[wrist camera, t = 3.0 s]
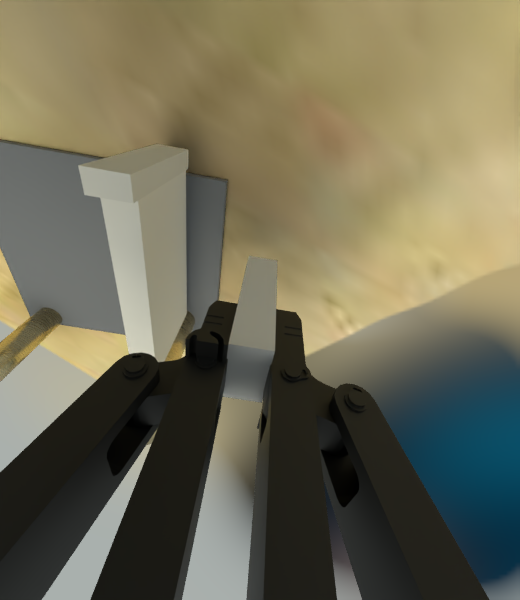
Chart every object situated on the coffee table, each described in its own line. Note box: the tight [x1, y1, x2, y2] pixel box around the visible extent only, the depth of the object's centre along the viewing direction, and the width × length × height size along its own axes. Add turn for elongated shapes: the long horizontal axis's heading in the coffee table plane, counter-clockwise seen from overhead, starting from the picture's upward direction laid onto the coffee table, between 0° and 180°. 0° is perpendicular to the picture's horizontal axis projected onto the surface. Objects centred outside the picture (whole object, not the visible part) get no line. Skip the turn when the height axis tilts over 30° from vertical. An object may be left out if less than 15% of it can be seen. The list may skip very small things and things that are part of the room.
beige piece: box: [78, 144, 188, 362], centre depth 16 cm, size 12×2×7 cm, turn 171°
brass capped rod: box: [0, 307, 62, 382], centre depth 21 cm, size 3×3×11 cm
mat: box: [0, 140, 228, 335], centre depth 21 cm, size 15×17×1 cm
